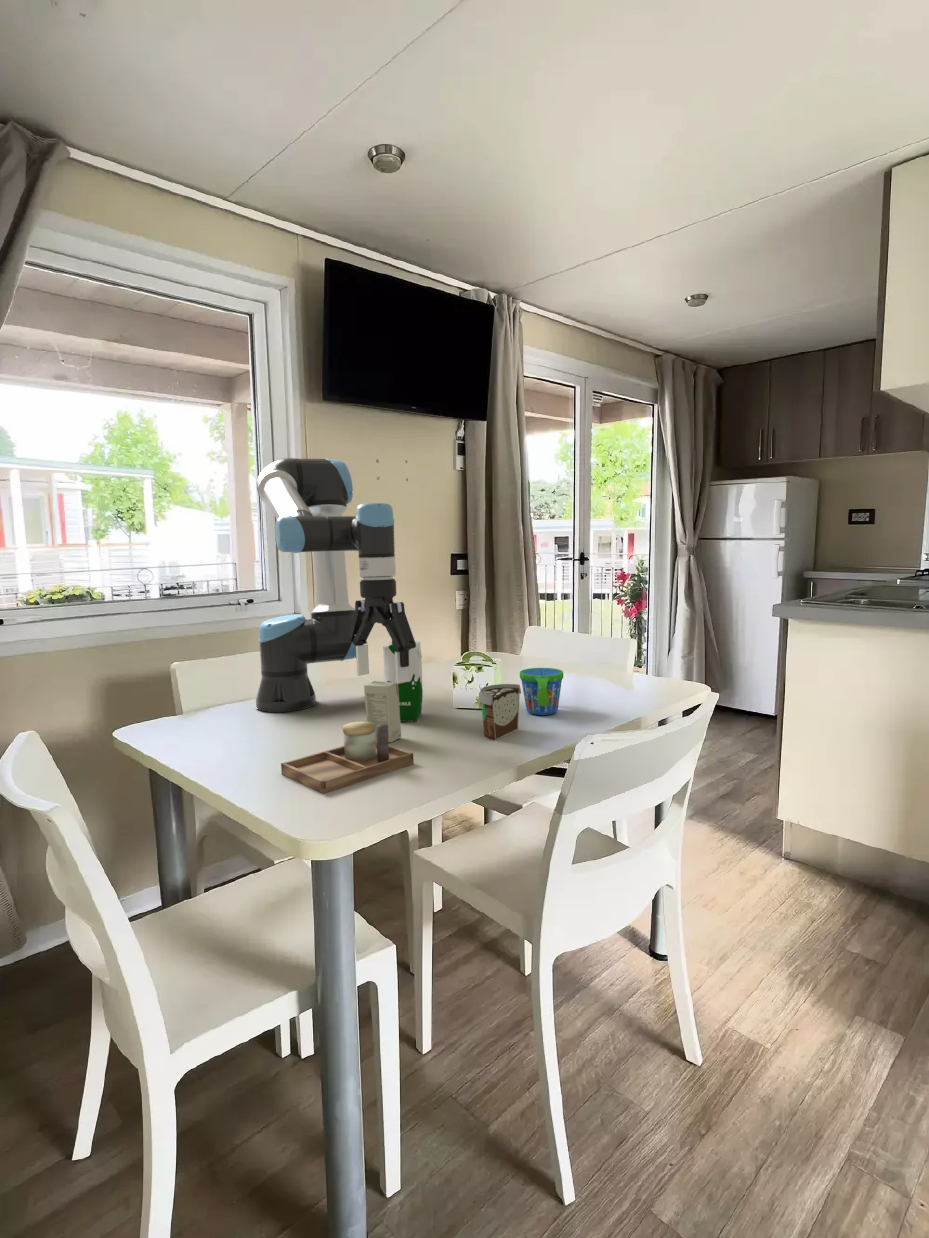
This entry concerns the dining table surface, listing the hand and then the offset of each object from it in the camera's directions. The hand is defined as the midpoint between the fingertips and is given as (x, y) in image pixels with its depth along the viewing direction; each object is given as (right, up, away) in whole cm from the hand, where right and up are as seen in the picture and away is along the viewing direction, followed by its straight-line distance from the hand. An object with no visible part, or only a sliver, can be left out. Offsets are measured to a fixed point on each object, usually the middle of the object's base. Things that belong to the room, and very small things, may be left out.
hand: (382, 678), depth 140 cm
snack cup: (+36, -10, +20) cm, 43 cm away
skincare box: (0, -13, +2) cm, 14 cm away
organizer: (-4, -15, -16) cm, 23 cm away
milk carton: (+3, -11, +19) cm, 22 cm away
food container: (+24, -13, +4) cm, 28 cm away
